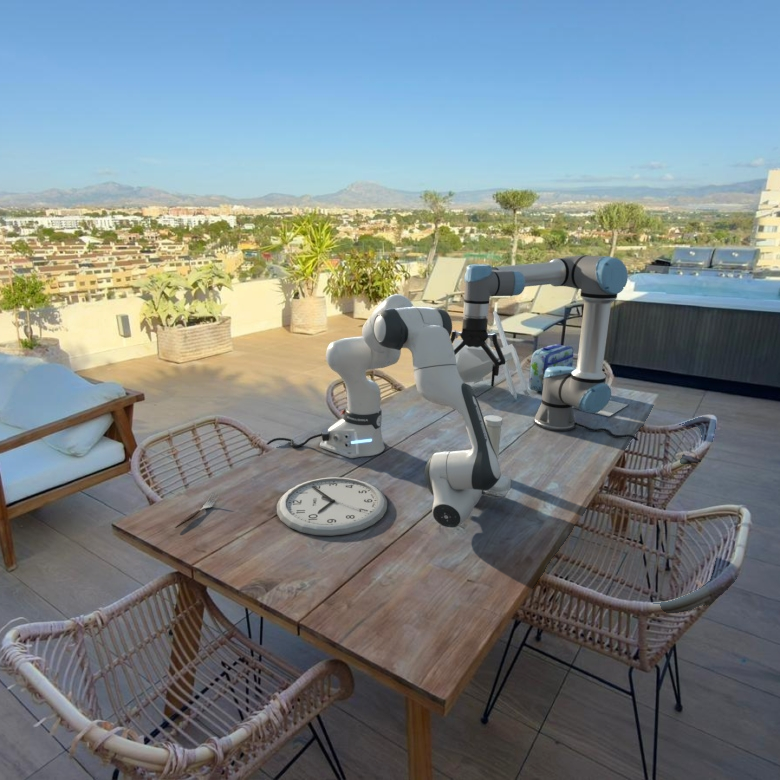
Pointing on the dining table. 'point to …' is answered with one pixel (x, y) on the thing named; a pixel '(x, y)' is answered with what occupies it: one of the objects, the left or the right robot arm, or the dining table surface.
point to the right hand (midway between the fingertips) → (470, 383)
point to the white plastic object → (487, 361)
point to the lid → (493, 420)
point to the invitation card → (611, 408)
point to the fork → (206, 505)
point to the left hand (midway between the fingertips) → (480, 468)
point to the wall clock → (331, 506)
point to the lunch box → (548, 363)
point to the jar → (494, 437)
